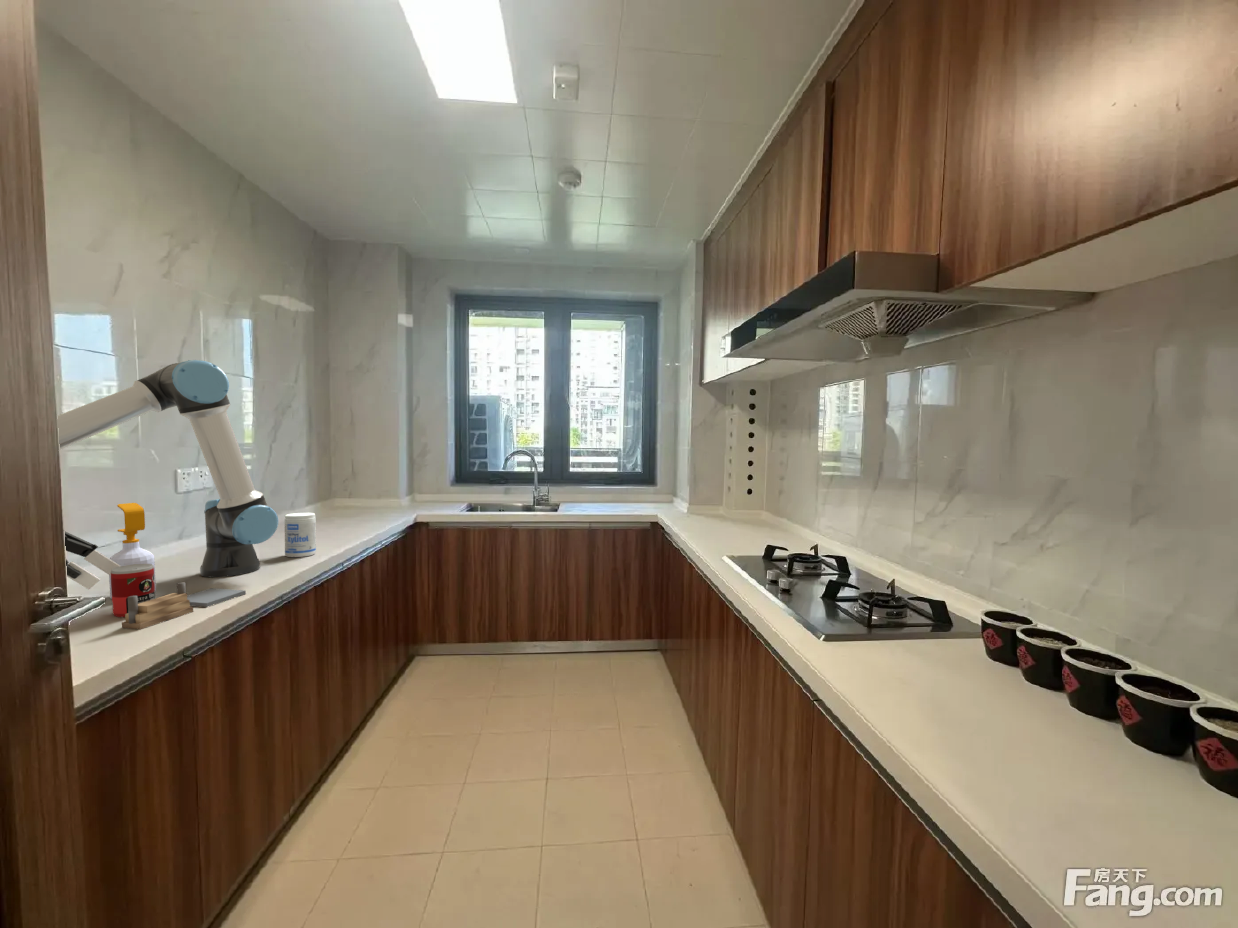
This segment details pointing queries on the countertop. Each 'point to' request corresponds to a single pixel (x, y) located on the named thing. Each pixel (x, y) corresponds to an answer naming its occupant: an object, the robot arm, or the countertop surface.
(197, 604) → the slate mat
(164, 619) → the offcut rack
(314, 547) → the supplement tub
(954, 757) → the countertop surface
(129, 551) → the soap bottle
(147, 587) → the canned food
